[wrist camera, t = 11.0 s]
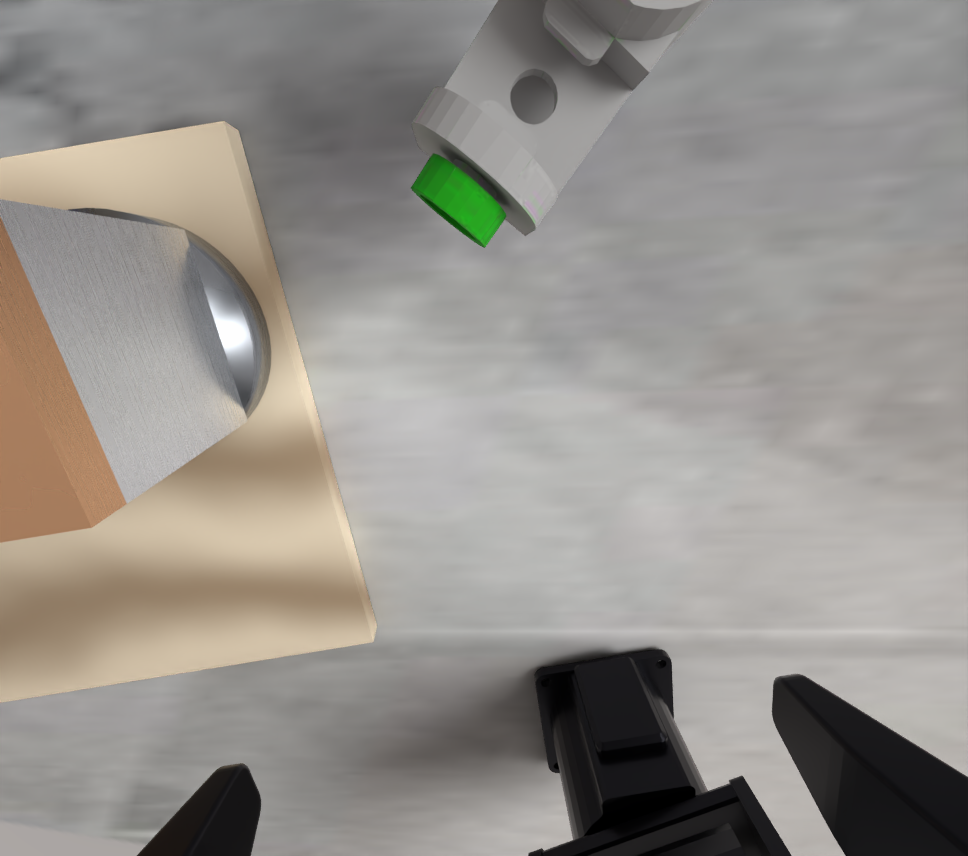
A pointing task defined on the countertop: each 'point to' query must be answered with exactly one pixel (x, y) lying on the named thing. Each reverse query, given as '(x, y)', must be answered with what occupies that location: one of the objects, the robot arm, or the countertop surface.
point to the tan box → (100, 366)
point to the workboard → (188, 473)
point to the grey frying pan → (225, 312)
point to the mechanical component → (535, 104)
